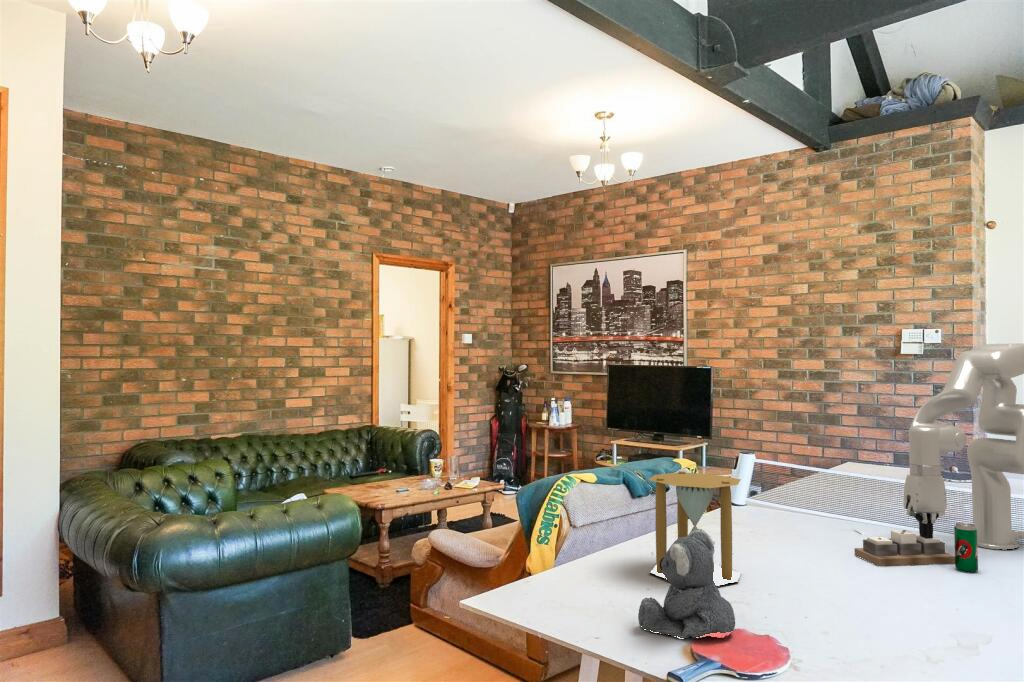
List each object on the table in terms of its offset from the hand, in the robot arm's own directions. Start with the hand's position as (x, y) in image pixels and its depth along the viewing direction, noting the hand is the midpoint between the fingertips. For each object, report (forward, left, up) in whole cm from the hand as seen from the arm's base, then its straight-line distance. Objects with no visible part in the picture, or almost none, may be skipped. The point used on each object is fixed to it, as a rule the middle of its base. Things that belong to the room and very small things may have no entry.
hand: (926, 537), depth 193 cm
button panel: (+7, 0, -6) cm, 9 cm away
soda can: (-3, +11, -6) cm, 13 cm away
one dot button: (+14, 0, -4) cm, 14 cm away
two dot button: (0, 0, -4) cm, 4 cm away
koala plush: (+83, +41, -6) cm, 92 cm away
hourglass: (+69, +6, -6) cm, 69 cm away
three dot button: (+7, 0, -2) cm, 7 cm away
